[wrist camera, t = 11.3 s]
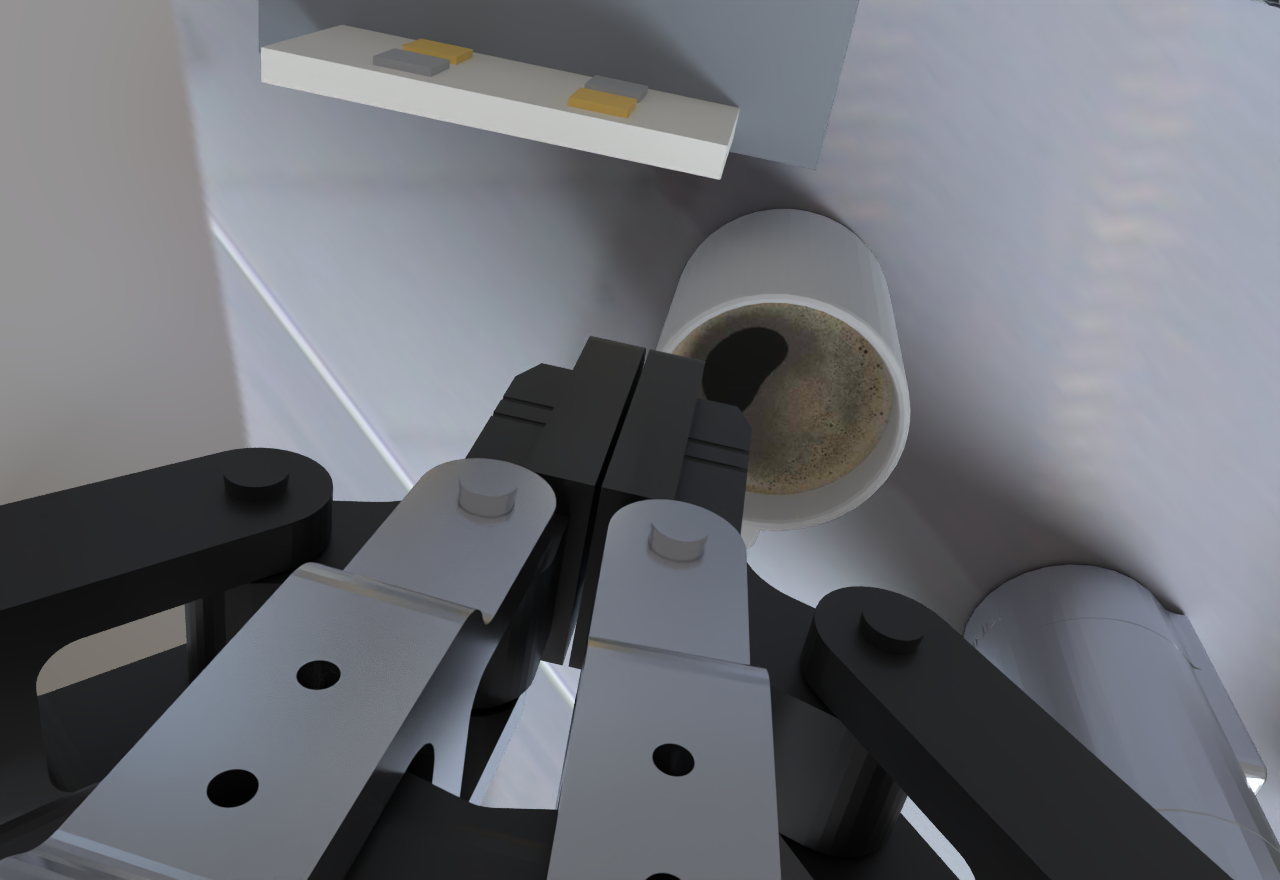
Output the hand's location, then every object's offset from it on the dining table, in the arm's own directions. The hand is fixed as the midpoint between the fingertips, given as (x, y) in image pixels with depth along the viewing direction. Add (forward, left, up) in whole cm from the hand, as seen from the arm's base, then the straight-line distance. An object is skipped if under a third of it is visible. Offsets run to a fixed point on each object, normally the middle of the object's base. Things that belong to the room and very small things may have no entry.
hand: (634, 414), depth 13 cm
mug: (-3, +10, -29) cm, 31 cm away
